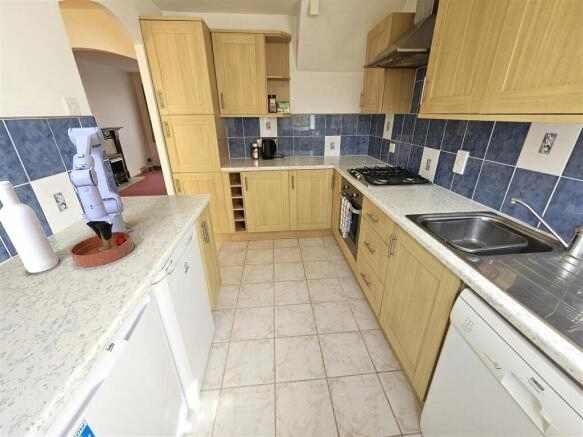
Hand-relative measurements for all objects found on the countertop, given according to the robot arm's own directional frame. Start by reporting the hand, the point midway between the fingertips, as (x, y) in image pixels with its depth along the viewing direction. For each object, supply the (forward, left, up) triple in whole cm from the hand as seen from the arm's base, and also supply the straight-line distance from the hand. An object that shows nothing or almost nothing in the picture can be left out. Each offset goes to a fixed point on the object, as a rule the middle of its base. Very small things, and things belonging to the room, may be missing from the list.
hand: (106, 238), depth 90 cm
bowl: (0, -2, -6) cm, 6 cm away
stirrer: (0, -1, -5) cm, 5 cm away
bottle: (-13, -14, -6) cm, 20 cm away
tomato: (0, +5, -4) cm, 6 cm away
